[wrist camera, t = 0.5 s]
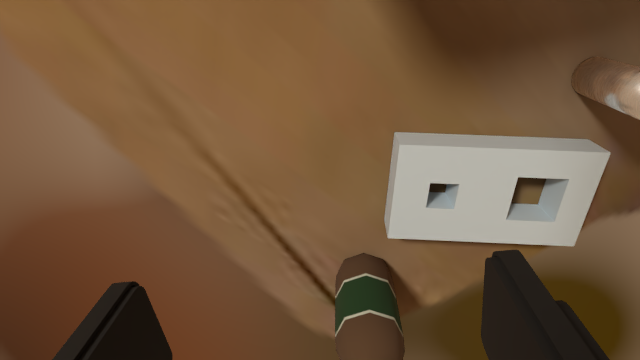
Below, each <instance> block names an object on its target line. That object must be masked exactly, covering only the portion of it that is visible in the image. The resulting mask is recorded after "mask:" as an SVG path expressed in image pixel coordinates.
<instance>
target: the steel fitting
mask: <svg viewBox="0 0 640 360" xmlns="http://www.w3.org/2000/svg"><path fill="white" fill-rule="evenodd" d="M571 83H572V87H573V89H574V90H575V91H576V92H577V93H579V94H581V95H583V96H586V97H588V98H590V99H592V100H595V101H597V102H599V103H602V104H604V105H606V106H609V107H611V108H613V109H616V110H618V111H620V112H622V113H625V114H627V115H629V116H632V117H634V118H636V119H639V120H640V67H638V66H634V65H630V64H626V63H622V62H618V61H614V60H610V59H607V58H603V57H592V58H589V59H587V60H585V61H583V62H582V63H581V64H579V65H578V67H577V68H576V69H575V71H574V73H573V75H572V79H571Z"/></svg>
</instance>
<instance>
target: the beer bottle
mask: <svg viewBox="0 0 640 360" xmlns="http://www.w3.org/2000/svg"><path fill="white" fill-rule="evenodd" d="M335 341H336V351H337V354H338V356H339V359H340V360H403V357H404V352H405V350H404V338H403V333H402V327H401V322H400V316H399V311H398V306H397V300H396V295H395V290H394V284H393V281H392V277H391V274H390V272H389V270H388V268H387V266H386V264H385V262H384V260H383V259H380V258H377V257H374V256H371V255H368V254H365V253H363V254H360V255H357V256H354V257H351V258H348V259H345V260H344V262H343V264H342V266H341V268H340V270H339V272H338V274H337V276H336V300H335Z"/></svg>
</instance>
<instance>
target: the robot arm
mask: <svg viewBox="0 0 640 360" xmlns="http://www.w3.org/2000/svg"><path fill="white" fill-rule="evenodd" d="M481 338H482V343H483V346H484V349H485V351H486V354H487V356H488V358H489V360H609V358H608V357H607V356H606V354H605V353H604V352H603V350H602V349H601V348H600V346H599V345H598V344H597V342H596V341H595V340H594V338H593V337H592V336H591V335H590V333H589V332H588V330H587V329H586V328H585V326H584V325H583V323H582V322H581V321H580V319H579V318H578V317H577V315H576V314H575V313H574V311H573V310H572V309H571V308H570V306H569V305H568V304H567V303H566V302H563V301H562V300H561V301H555V300H554V299H553V297H552V296H551V295H550V293H549V292H548V290H547V289H546V288H545V286H544V285H543V283H542V282H541V281H540V279H539V278H538V276H537V275H536V274H535V272H534V271H533V269H532V268H531V266H530V265H529V264H528V262H527V261H526V259H525V258H524V256H523V255H522V254H521V252H520V251H519V250H506V251H495V252H493V254H492V257H491V258H486V261H485V275H484V293H483V308H482V325H481ZM52 360H172V352H171V349H170V347H169V344H168V342H167V340H166V337H165V335H164V333H163V331H162V328H161V326H160V324H159V321H158V319H157V317H156V314H155V312H154V310H153V308H152V305H151V303H150V301H149V298H148V296H147V293H146V291H145V289H144V288H143V287H142V286H139V284H138V283H136V282H121V283H114V284H112V285H111V286H110V287H109V288H108V289H107V291H106V292H105V293H104V294H103V296H102V297H101V298H100V300H99V301H98V302H97V303H96V305H95V306H94V307H93V308H92V310H91V311H90V312H89V313H88V315H87V316H86V317H85V319H84V320H83V321H82V322H81V324H80V325H79V326H78V328H77V329H76V330H75V331H74V333H73V334H72V335H71V336H70V338H69V339H68V340H67V342H66V343H65V344H64V345H63V347H62V348H61V349H60V351H59V352H58V353H57V354H56V356H55V357H54V358H53V359H52Z"/></svg>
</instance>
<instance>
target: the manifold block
mask: <svg viewBox="0 0 640 360" xmlns="http://www.w3.org/2000/svg"><path fill="white" fill-rule="evenodd" d="M610 154H611V153H610V152H609V151H607V150H605V149H604V148H602V147H600V146H599V145H597V144H595V143H594V142H592V141H590V140H589V139H566V138H539V137H513V136H486V135H459V134H432V133H405V132H395V133H394V141H393V150H392V158H391V167H390V175H389V184H388V192H387V201H386V209H385V218H384V222H385V227H386V232H387V236H388V238H396V239H419V240H441V241H464V242H486V243H509V244H531V245H554V246H574V245H575V242H576V240H577V237H578V235H579V232H580V230H581V227H582V225H583V222H584V220H585V217H586V215H587V212H588V209H589V207H590V204H591V202H592V199H593V197H594V194H595V192H596V189H597V187H598V184H599V181H600V179H601V176H602V174H603V171H604V169H605V166H606V164H607V161H608V159H609V156H610ZM518 177H525V178H546V181H545V184H544V188H543V191H542V194H541V197H540V200H539V203H538V205H536V204H512V203H511V201H512V197H513V194H514V190H515V187H516V183H517V180H518ZM430 183H440V184H447V186H446V191H445V193H444V192H429V187H430Z"/></svg>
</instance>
